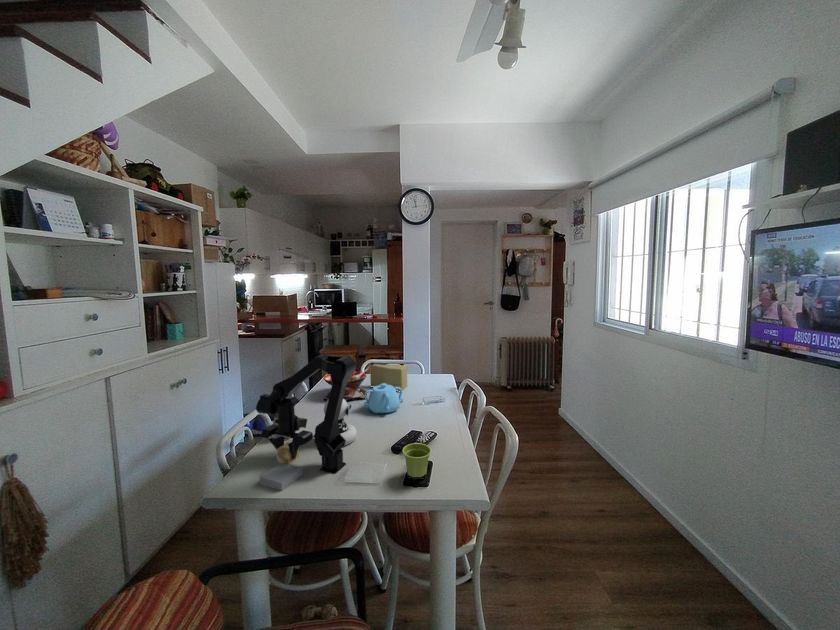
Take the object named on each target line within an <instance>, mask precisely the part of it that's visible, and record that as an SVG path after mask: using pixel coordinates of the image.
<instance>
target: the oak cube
mask: <svg viewBox="0 0 840 630" xmlns="http://www.w3.org/2000/svg"><path fill="white" fill-rule="evenodd" d="M289 443H290V442H286V443H284V445H282V446H281V447H279V448H277V450H276V454H277V455H276V459H277V463H279V464H280V463H286V464H290V465H291V464H292V463H293V462H295V461H296V460H298V459H299V457H300V455H299V451H298V452H297V455H296V458H295V459H292V457H291V453H290V450H289V446H288V444H289Z"/></svg>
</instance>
